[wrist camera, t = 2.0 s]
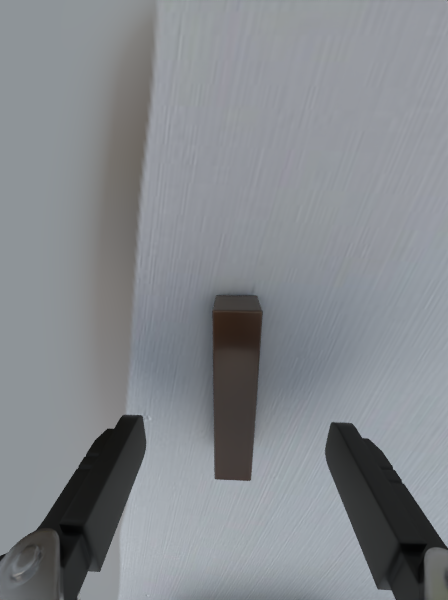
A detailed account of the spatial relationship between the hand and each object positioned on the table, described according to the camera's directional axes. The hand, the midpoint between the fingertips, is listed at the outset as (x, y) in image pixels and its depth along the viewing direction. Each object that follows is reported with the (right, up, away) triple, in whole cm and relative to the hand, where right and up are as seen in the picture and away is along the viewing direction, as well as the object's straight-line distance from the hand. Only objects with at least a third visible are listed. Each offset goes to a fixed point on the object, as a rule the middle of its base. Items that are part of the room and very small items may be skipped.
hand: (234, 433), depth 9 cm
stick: (0, +1, +3) cm, 3 cm away
